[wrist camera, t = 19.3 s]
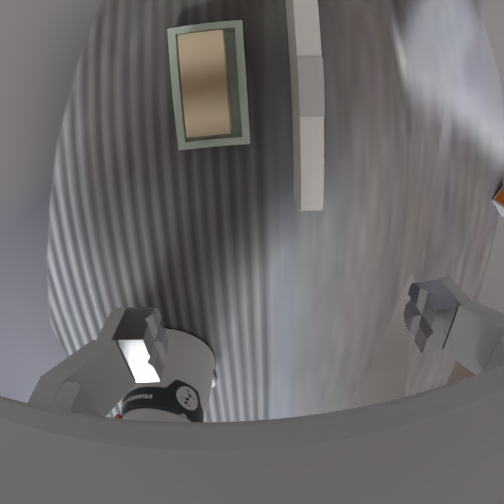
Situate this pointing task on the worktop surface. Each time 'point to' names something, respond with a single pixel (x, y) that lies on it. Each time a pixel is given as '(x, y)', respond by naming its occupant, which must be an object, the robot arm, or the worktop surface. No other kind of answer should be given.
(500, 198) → the skincare box
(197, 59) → the bar
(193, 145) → the pale green tray
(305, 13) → the door edge
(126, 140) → the worktop surface
